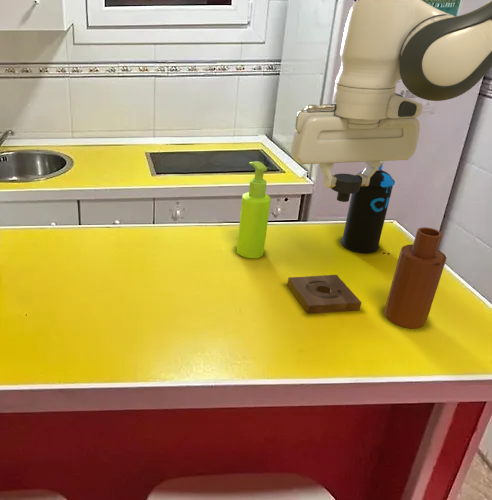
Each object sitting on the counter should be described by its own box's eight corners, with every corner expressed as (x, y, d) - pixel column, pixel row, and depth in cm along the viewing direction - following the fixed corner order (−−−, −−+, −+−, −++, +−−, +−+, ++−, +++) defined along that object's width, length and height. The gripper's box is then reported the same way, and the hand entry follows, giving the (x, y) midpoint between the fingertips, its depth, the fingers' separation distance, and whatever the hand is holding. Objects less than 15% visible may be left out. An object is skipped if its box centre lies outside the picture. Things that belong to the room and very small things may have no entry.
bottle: (411, 305, 96) (436, 222, 89) (434, 327, 91) (462, 240, 83) (377, 307, 96) (398, 224, 88) (397, 330, 90) (422, 242, 82)
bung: (349, 194, 92) (353, 172, 90) (361, 204, 88) (366, 181, 86) (324, 195, 91) (327, 173, 89) (336, 205, 87) (340, 183, 85)
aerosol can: (333, 244, 119) (350, 159, 109) (351, 233, 124) (368, 152, 114) (368, 257, 113) (389, 169, 104) (385, 245, 118) (406, 160, 109)
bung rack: (335, 282, 104) (336, 274, 103) (359, 310, 95) (361, 302, 94) (287, 285, 103) (288, 277, 102) (307, 314, 94) (309, 305, 93)
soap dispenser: (256, 243, 119) (266, 158, 110) (267, 257, 113) (279, 169, 104) (231, 244, 118) (239, 160, 109) (241, 259, 112) (251, 170, 103)
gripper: (306, 109, 78) (294, 195, 84) (433, 105, 80) (411, 189, 87) (290, 100, 84) (280, 182, 90) (409, 97, 86) (391, 177, 92)
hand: (345, 186), depth 88 cm, fingers closed on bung, 4 cm apart
